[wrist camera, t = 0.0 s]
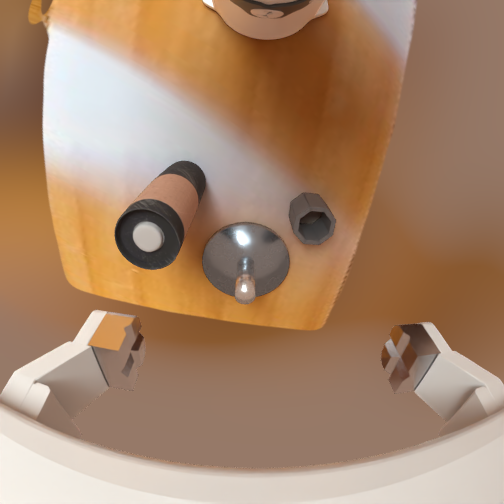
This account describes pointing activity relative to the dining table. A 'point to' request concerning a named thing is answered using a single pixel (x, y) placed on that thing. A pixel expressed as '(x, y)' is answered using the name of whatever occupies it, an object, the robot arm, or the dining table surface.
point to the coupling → (316, 230)
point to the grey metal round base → (245, 260)
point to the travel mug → (161, 217)
